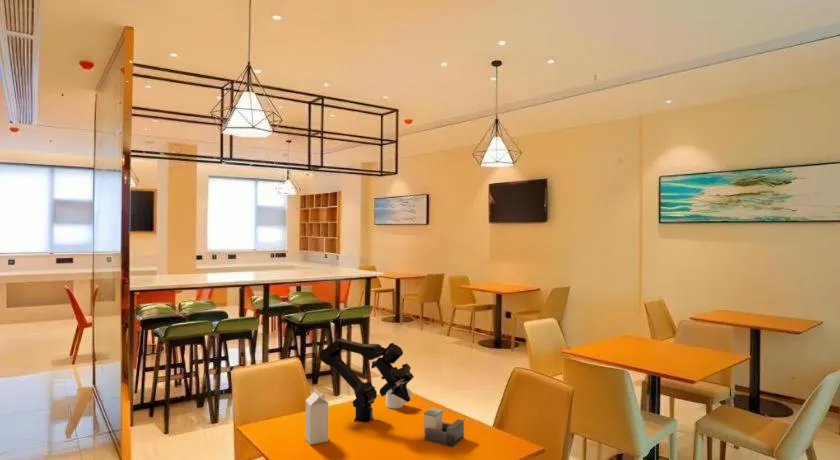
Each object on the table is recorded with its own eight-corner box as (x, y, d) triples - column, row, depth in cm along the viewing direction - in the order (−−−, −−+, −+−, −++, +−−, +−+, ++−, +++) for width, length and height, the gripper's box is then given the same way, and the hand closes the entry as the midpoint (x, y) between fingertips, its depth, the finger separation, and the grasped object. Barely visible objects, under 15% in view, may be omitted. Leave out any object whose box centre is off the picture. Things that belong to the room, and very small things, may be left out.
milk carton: (309, 445, 189) (310, 395, 189) (305, 438, 196) (305, 389, 196) (328, 441, 193) (328, 392, 193) (322, 435, 199) (323, 387, 199)
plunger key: (423, 433, 197) (423, 412, 197) (431, 428, 203) (431, 407, 203) (435, 436, 195) (435, 415, 195) (442, 430, 200) (442, 410, 200)
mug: (412, 403, 237) (412, 381, 237) (410, 409, 228) (411, 387, 228) (387, 402, 238) (387, 380, 238) (384, 408, 229) (385, 386, 229)
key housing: (424, 440, 195) (425, 422, 195) (436, 431, 204) (437, 414, 204) (452, 447, 189) (452, 428, 189) (463, 438, 198) (463, 420, 198)
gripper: (385, 363, 199) (409, 396, 194) (410, 353, 215) (432, 383, 210) (369, 380, 203) (392, 412, 198) (394, 369, 219) (416, 399, 214)
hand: (409, 401), depth 205 cm, fingers closed
